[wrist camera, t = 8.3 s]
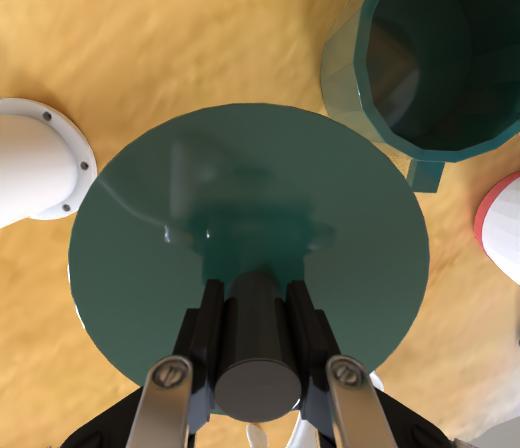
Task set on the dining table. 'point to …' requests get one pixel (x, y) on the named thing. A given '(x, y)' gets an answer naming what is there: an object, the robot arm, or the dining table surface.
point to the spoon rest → (298, 428)
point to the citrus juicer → (501, 225)
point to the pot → (425, 79)
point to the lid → (248, 247)
